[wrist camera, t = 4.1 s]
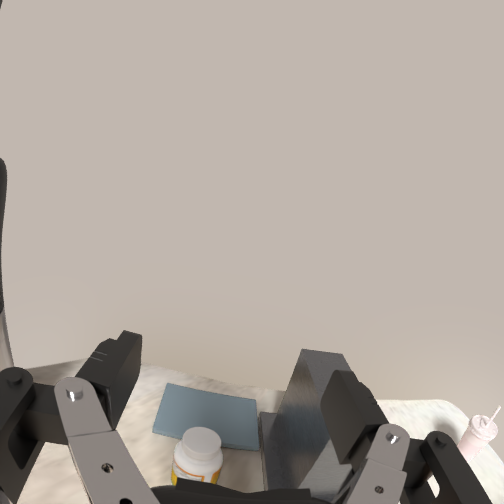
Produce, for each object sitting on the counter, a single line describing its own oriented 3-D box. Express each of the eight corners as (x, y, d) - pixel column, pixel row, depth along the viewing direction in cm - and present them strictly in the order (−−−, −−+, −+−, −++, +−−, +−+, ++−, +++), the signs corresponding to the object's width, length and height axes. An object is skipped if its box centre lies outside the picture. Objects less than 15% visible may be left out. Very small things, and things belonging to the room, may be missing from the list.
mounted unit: (267, 521, 24) (315, 450, 20) (258, 417, 43) (285, 339, 40) (343, 517, 24) (408, 445, 21) (315, 422, 44) (350, 348, 41)
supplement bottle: (203, 464, 31) (214, 418, 29) (222, 494, 27) (237, 452, 25) (164, 471, 28) (168, 425, 26) (180, 504, 24) (187, 463, 22)
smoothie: (443, 474, 30) (491, 412, 28) (439, 451, 36) (480, 391, 33) (470, 476, 28) (517, 416, 26) (464, 454, 34) (505, 396, 31)
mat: (152, 432, 34) (152, 428, 34) (166, 387, 45) (167, 382, 45) (257, 451, 36) (259, 447, 36) (254, 403, 46) (255, 399, 46)
